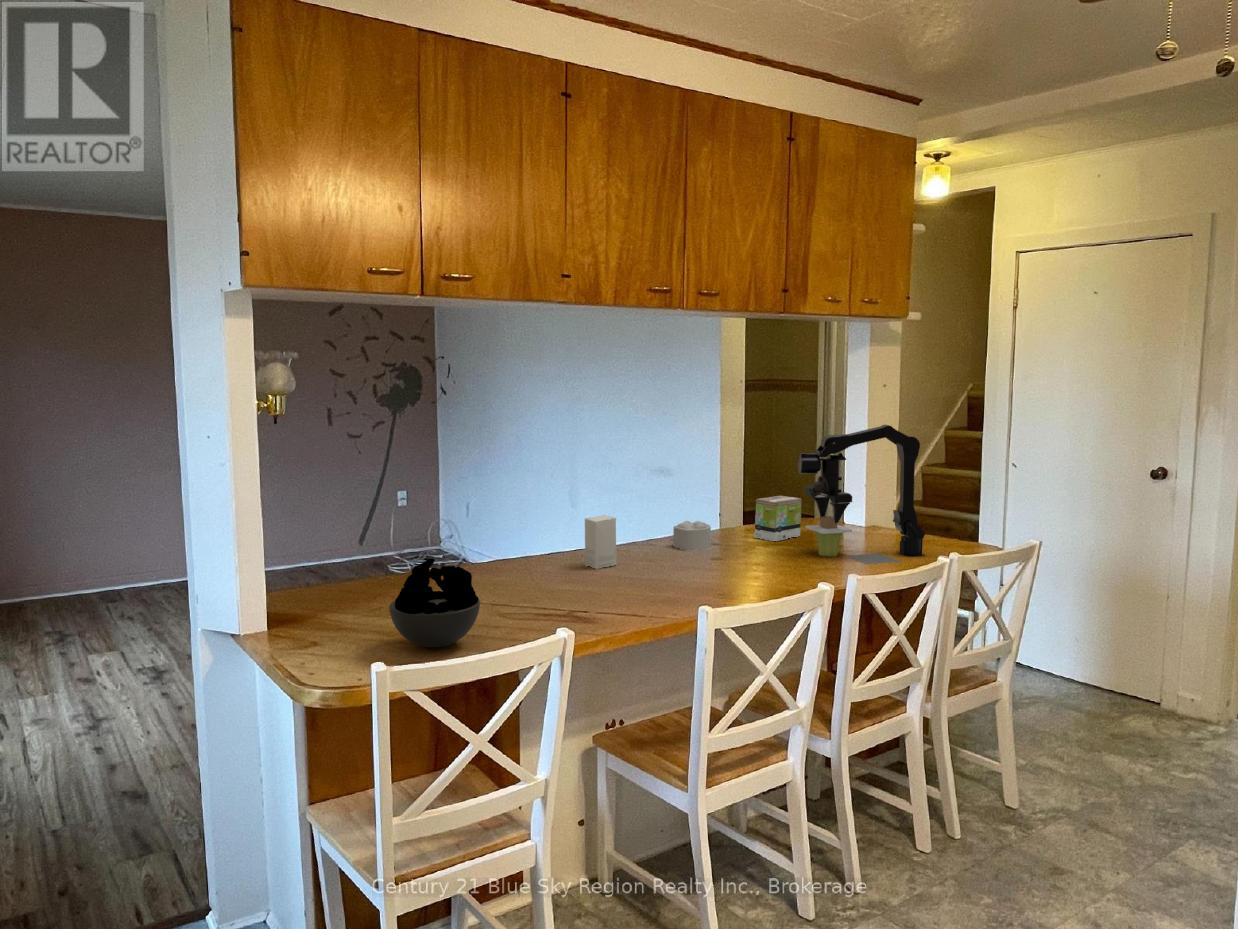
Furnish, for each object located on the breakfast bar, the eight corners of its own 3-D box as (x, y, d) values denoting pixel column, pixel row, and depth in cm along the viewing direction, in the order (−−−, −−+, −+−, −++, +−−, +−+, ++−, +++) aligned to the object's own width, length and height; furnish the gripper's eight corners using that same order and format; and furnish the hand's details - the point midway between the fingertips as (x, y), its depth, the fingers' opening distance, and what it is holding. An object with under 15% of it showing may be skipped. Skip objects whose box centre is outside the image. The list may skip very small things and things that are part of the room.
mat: (879, 554, 294) (879, 553, 293) (902, 562, 281) (902, 561, 281) (844, 556, 290) (844, 555, 290) (866, 565, 278) (866, 564, 277)
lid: (834, 526, 298) (835, 513, 298) (852, 532, 288) (852, 519, 287) (805, 527, 295) (805, 515, 294) (822, 533, 284) (822, 521, 284)
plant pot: (840, 552, 296) (841, 527, 295) (844, 558, 287) (845, 532, 286) (812, 552, 297) (812, 527, 296) (815, 558, 288) (816, 532, 287)
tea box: (776, 542, 314) (776, 501, 312) (753, 538, 321) (754, 498, 320) (801, 537, 324) (802, 497, 322) (779, 533, 331) (780, 494, 330)
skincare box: (605, 562, 283) (605, 514, 281) (617, 566, 277) (617, 517, 276) (583, 566, 278) (583, 517, 276) (595, 570, 272) (595, 520, 271)
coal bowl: (467, 661, 188) (465, 575, 186) (377, 659, 190) (374, 574, 188) (490, 633, 208) (488, 555, 206) (407, 631, 210) (405, 554, 208)
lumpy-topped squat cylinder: (669, 546, 308) (669, 521, 307) (699, 542, 315) (699, 518, 314) (687, 551, 299) (687, 526, 298) (717, 547, 306) (717, 522, 305)
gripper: (794, 471, 296) (794, 517, 298) (822, 478, 278) (821, 526, 280) (824, 470, 299) (823, 515, 301) (853, 476, 281) (852, 524, 283)
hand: (829, 520), depth 291 cm, fingers open, 9 cm apart
